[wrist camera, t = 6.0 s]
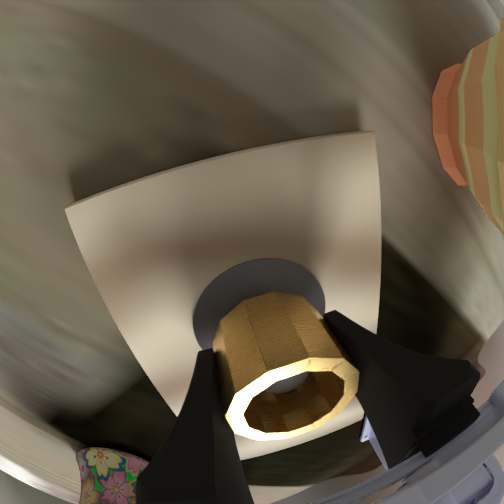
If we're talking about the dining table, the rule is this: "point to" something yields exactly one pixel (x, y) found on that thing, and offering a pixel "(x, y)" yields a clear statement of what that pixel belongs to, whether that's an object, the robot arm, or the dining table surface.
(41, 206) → the dining table surface
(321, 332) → the brass collar
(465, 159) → the potted cactus
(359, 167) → the post board
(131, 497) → the mug
